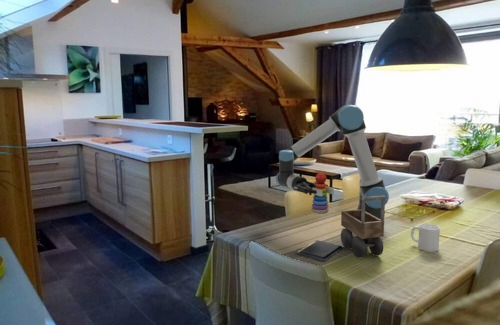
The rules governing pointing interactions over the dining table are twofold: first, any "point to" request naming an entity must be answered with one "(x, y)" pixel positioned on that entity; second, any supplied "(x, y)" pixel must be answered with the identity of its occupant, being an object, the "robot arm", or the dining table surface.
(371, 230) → the trolley
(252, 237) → the dining table surface
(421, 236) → the cup
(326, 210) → the stacking toy
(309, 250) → the dark navy book
